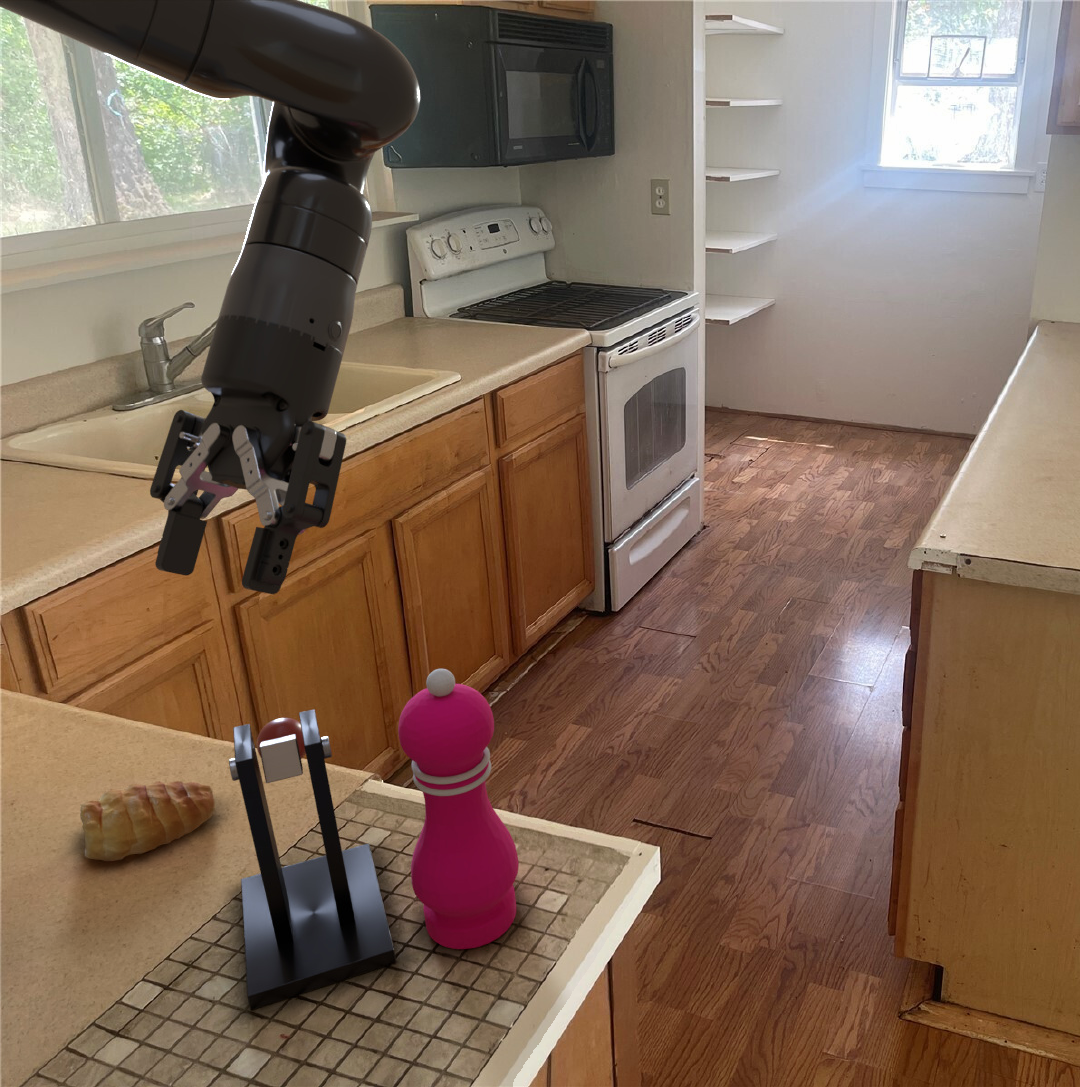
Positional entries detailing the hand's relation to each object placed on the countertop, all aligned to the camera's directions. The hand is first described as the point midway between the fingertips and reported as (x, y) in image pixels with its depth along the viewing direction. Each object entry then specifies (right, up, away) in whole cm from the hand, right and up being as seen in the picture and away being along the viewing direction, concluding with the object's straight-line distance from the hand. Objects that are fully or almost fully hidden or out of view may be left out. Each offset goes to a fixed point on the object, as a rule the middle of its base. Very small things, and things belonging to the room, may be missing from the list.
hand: (215, 582), depth 63 cm
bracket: (+3, -24, +9) cm, 26 cm away
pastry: (-15, -21, +18) cm, 32 cm away
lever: (+1, -14, +8) cm, 16 cm away
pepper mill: (+14, -24, +9) cm, 29 cm away
